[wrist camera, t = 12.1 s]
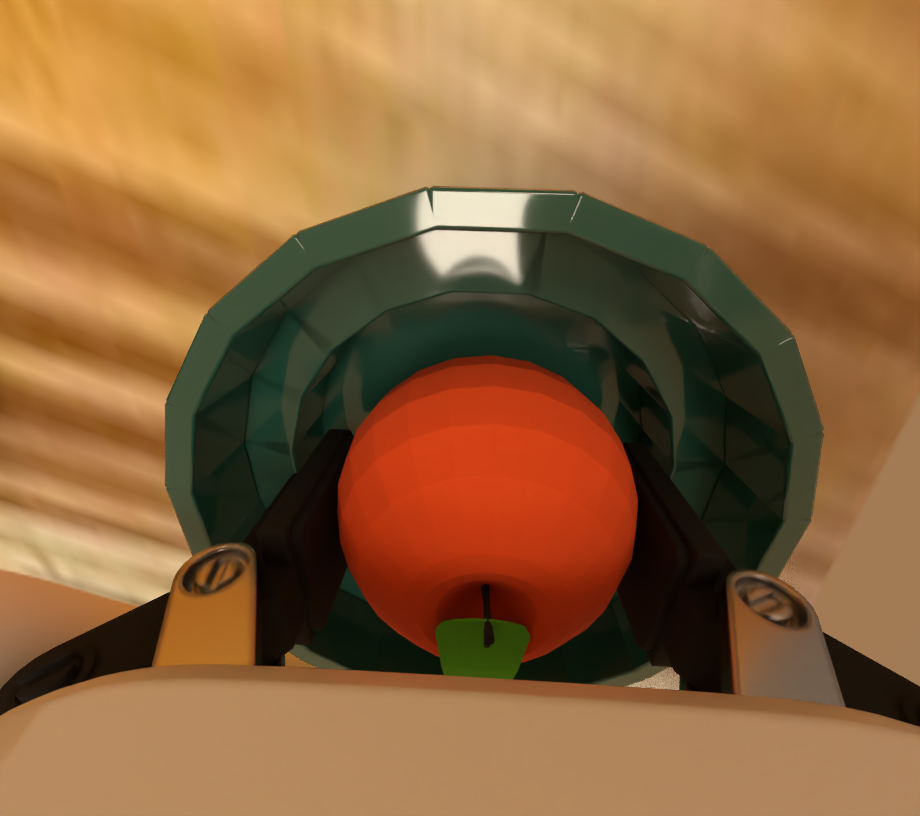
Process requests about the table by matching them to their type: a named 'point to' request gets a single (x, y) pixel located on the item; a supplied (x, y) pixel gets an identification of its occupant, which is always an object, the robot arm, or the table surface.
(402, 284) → the bowl
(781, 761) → the robot arm
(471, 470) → the clementine
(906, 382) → the table surface
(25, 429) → the table surface
